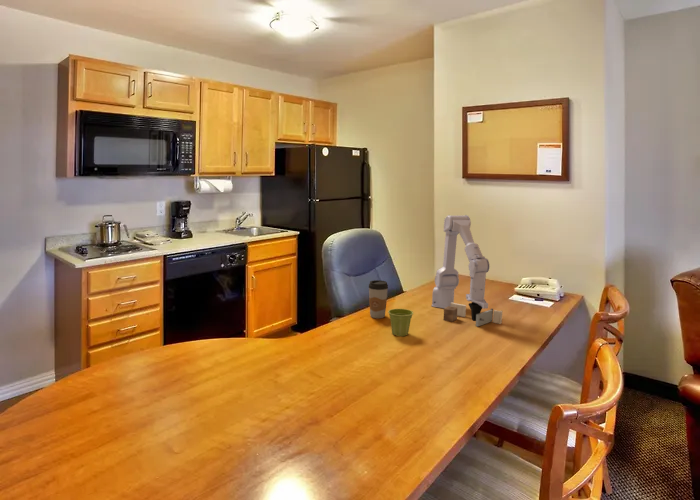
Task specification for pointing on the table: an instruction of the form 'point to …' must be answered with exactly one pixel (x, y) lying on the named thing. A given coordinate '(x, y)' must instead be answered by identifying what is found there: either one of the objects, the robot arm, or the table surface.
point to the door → (484, 317)
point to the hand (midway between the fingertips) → (475, 320)
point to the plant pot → (400, 321)
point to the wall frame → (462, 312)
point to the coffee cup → (378, 298)
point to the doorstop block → (450, 314)
